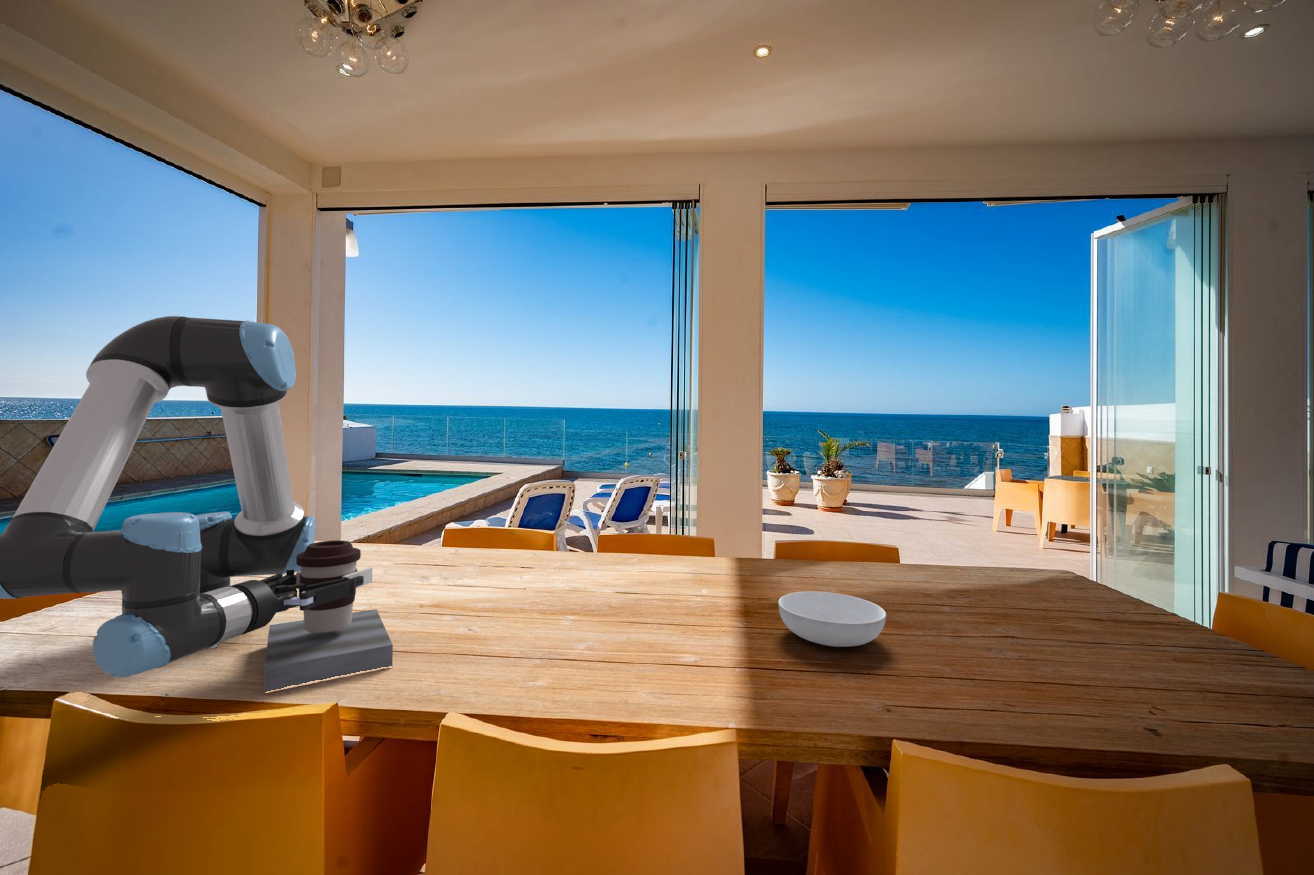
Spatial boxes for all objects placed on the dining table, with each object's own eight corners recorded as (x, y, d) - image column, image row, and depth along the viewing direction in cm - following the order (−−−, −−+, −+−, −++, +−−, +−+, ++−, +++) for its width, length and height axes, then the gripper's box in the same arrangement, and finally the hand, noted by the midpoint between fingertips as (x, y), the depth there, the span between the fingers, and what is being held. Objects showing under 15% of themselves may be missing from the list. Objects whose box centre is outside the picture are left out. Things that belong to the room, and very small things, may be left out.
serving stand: (269, 646, 102) (269, 625, 102) (376, 628, 112) (376, 609, 112) (264, 694, 84) (264, 668, 84) (392, 667, 94) (392, 644, 94)
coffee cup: (338, 637, 93) (340, 550, 93) (281, 636, 93) (282, 549, 93) (370, 618, 103) (371, 539, 103) (319, 616, 103) (319, 537, 103)
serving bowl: (896, 665, 99) (897, 627, 99) (778, 654, 103) (779, 617, 103) (874, 625, 119) (875, 594, 119) (776, 617, 123) (777, 587, 123)
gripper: (174, 630, 83) (299, 589, 105) (295, 643, 78) (398, 597, 100) (175, 580, 82) (299, 550, 105) (296, 591, 78) (399, 556, 100)
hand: (348, 573), depth 103 cm, fingers closed on coffee cup, 9 cm apart
